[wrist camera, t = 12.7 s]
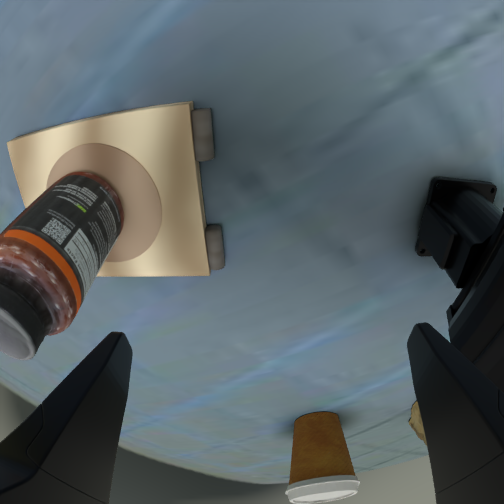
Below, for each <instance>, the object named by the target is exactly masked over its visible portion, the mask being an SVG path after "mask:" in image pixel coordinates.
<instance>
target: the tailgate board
mask: <svg viewBox="0 0 504 504" xmlns="http://www.w3.org/2000/svg"><path fill="white" fill-rule="evenodd" d="M7 146H8V150H9V154H10V158H11V162H12V165H13V169H14V173H15V176H16V180H17V183H18V186H19V189H20V193H21V196H22V199H23V202H24V205H25V208H27V207H28V206H29V205H30V204H31V203H32V202H33V201H34V200H36V199H37V198H38V197H39V196H40V195H41V194H42V193H43V192H44V191H45V190H47V189H48V188H49V187H50V186H51V185H52V184H53V183H55V182H56V181H57V180H59V179H60V178H61V177H63V176H65V175H67V174H69V173H72V172H79V171H80V172H89V173H92V174H94V175H97V176H99V177H100V178H102V179H103V180H105V181H106V182H107V183H108V184H109V185H110V186H111V187H112V188H113V189H114V190H115V192H116V193H117V195H118V197H119V199H120V201H121V204H122V207H123V212H124V224H123V228H122V231H121V233H120V235H119V237H118V239H117V241H116V243H115V244H114V246H113V248H112V249H111V251H110V253H109V255H108V256H107V258H106V260H105V262H104V263H103V265H102V267H101V269H100V271H99V272H98V274H97V276H210V272H211V269H212V270H220V269H222V268H224V266H225V258H224V249H223V239H222V230H221V227H220V226H219V225H209V226H206V219H205V211H204V203H203V194H202V186H201V177H200V168H199V161H208V160H212V159H214V157H215V156H214V144H213V132H212V119H211V109H210V108H200V109H194V108H193V101H189V102H179V103H171V104H163V105H156V106H149V107H142V108H136V109H130V110H124V111H119V112H114V113H108V114H103V115H99V116H94V117H89V118H85V119H81V120H76V121H72V122H68V123H64V124H60V125H57V126H53V127H49V128H46V129H42V130H39V131H35V132H32V133H29V134H25V135H22V136H19V137H16V138H14V139H12V140H11V141H9V142H7Z"/></svg>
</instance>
